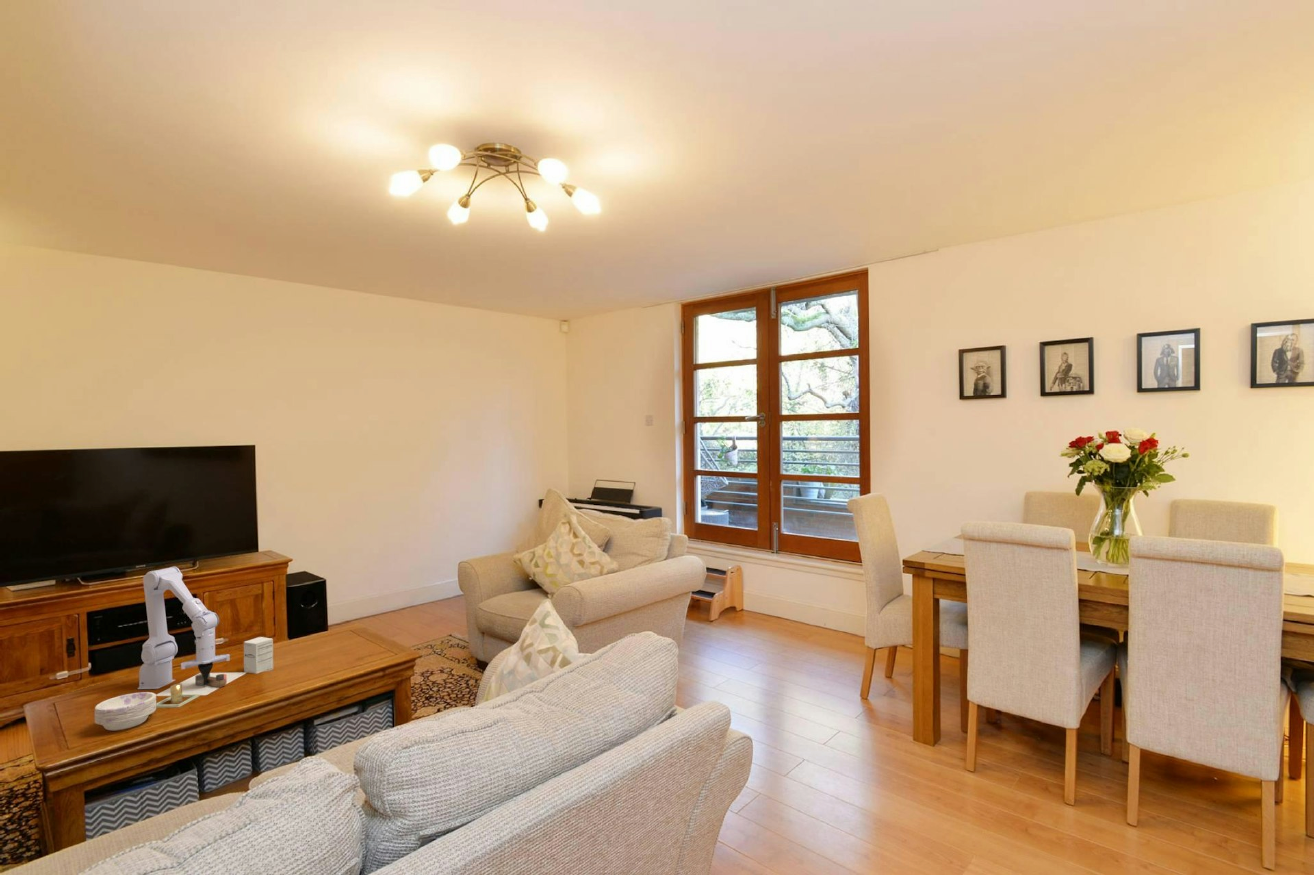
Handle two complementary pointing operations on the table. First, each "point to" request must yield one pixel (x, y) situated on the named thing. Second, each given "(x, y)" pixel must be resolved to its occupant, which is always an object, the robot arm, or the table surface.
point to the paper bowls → (125, 710)
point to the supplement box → (258, 655)
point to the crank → (211, 680)
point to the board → (192, 688)
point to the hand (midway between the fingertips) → (205, 684)
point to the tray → (177, 704)
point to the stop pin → (176, 693)
